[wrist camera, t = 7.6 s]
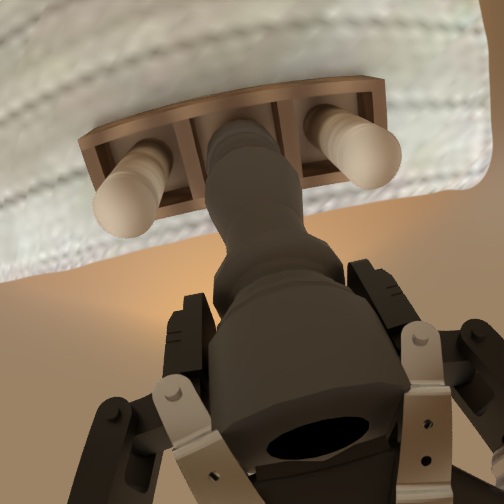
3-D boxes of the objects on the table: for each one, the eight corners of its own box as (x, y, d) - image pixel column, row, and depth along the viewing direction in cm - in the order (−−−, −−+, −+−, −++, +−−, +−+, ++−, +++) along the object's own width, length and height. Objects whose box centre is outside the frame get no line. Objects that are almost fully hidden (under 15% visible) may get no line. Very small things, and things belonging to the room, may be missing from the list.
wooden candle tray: (122, 209, 36) (89, 277, 26) (94, 128, 31) (40, 167, 20) (369, 160, 36) (427, 208, 25) (363, 75, 30) (431, 90, 20)
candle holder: (289, 147, 28) (455, 398, 8) (245, 196, 31) (308, 480, 10) (236, 105, 26) (340, 337, 5) (192, 159, 28) (156, 457, 7)
